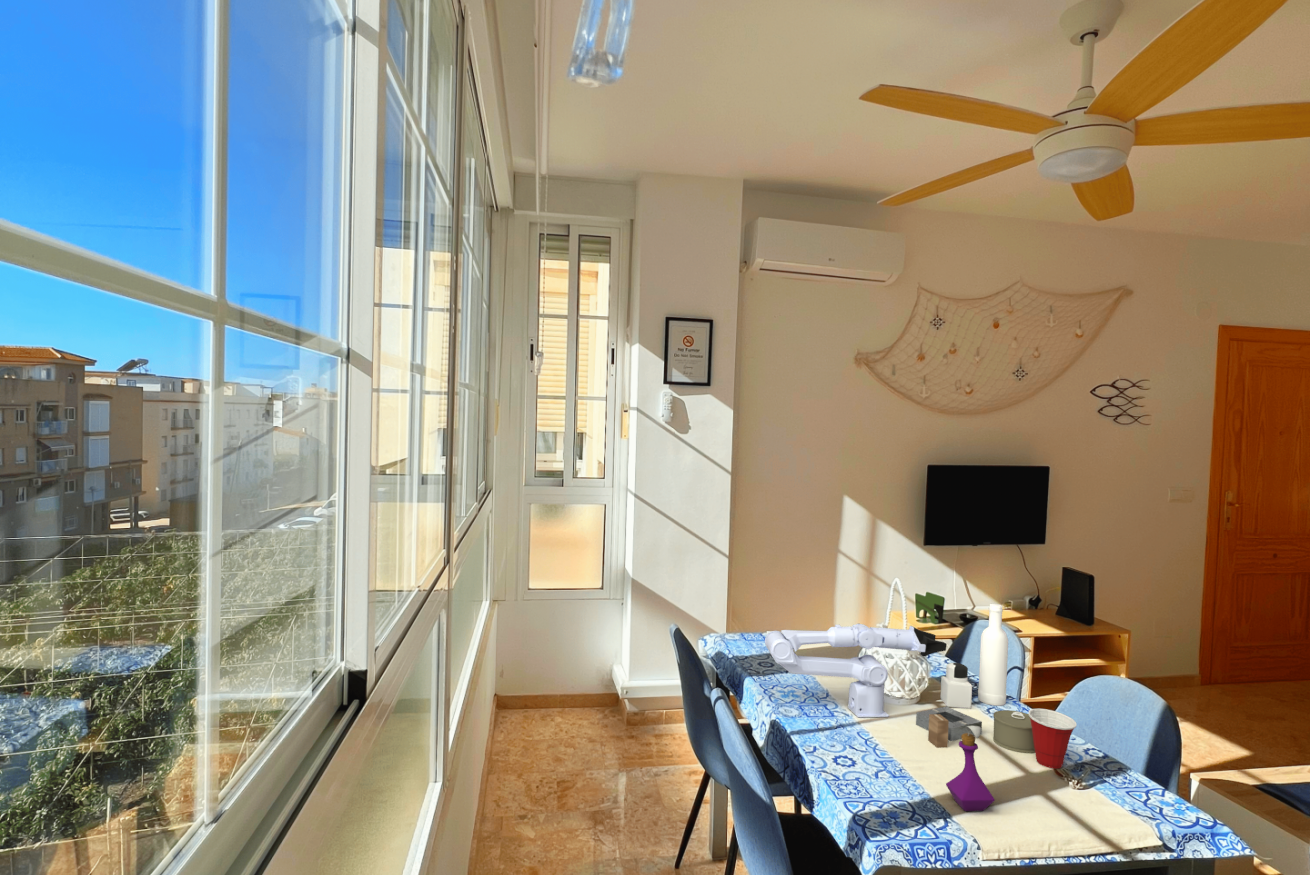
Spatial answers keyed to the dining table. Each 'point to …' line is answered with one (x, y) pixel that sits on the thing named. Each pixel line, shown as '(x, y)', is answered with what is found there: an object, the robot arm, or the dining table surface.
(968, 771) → the perfume bottle
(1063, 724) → the plastic cup
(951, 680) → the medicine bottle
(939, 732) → the peg
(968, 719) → the block with rectangular hole
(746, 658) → the dining table surface
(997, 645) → the bottle
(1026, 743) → the can
